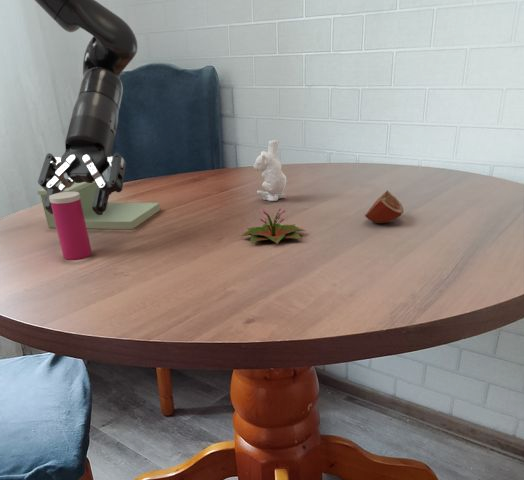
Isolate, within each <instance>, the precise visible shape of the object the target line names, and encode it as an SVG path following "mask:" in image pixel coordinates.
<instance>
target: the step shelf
mask: <svg viewBox="0 0 524 480" xmlns="http://www.w3.org/2000/svg"><path fill="white" fill-rule="evenodd" d="M103 176H104V178H105V179H106V177H105V174H103ZM68 178H69V177H67V178H66V179H68ZM60 183H61V181H60V182H59V183H58V184H57V185H56V186H58V185H59V184H60ZM96 189H99V186H98V185H97V183H96V181H93V183H87V182H82V183H76V182H75V183H74V184H73V185H72V186H71V187H70V188H66V189H65V190H64V191H63V192H79V193H80V199H81V204H82V209H83V214H84V218H85V223H86V228H87V229H92V230H93V229H95V230H96V229H97V230H98V229H99V230H100V229H101V230H134V229H135V228H137V226H139V225H141V224H142V223H144V222H145V221H147V220H148V219H150V218H151V217H152V216H154V215H155V214H157V213H158V212H160V211H161V206H160V205H161V204H160V202H108V203H107V207H106V210H105V211H104V212H103V214H102V215H97V214H96V213H95V212H94V211H93V209H92V206H93V202H94V197H95V193H96ZM36 192H37V195H38V196H40V199H41V203H42V207H43V211H44V216H45V219H46V223H47V227H48V229H49V228H50V229H57V228H56V223H55V219H54V215H53V214H50V213H49V212H48V211H47V210H46V208H45V207H44V202H45V197H46V193H47V191H46V190H45V189H44V188H43V187H41V188H40V189H38V190H37V191H36Z"/></svg>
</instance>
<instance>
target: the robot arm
mask: <svg viewBox="0 0 524 480" xmlns="http://www.w3.org/2000/svg"><path fill="white" fill-rule="evenodd" d="M34 1H35V2H36V3H37V5H39V7H40V8H41V9H43V11H44V12H45V13H46V14H47V15H48V16H50V18H51V19H52V20H53V21H55V23H56V24H57V25H59V27H60V28H62V29H63V30H64V31H66V32H67V33H74V32H76V31H78V30H79V29H81V30H84V31H85V32H87V33H88V34H90V35H91V36H92V38H91V39H90V41H89V42H88V44H87V45H86V48H85V51H84V55H83V62H82V80H81V83H80V87H79V91H78V95H77V99H76V102H75V104H74V106H73V109H72V113H71V117H70V120H69V125H68V128H67V129H68V130H67V133H66V137H65V143H64V144H65V145H64V146H65V151H64V153H63V154H62V156H60V157H59V156H54V155H53V153H47V154H46V155H45V158H44V161H43V164H42V168H41V170H40V173H39V176H38V181H37V183H38V184H39V185H40V187H41V188H44V189H45V190H46V191H47V193H46V197H45V202H44V207H45V208H46V210H47V211H48V212H49V213H50V214H53V211H52V207H51V202H50V200H49V196H50V195H52V194H56V193H61V192H63V191H64V190H65V189H66V188H70V187H71V186H72V185H73V184H74V183H75V182H76V183H82V182H87V183H93V181H96V183H97V185H98V186H99V189H96V193H95V197H94V202H93V206H92V209H93V211H94V212H95V213H96V214H97V215H102V214H103V212H104V211H105V210H106V207H107V203H109V198H110V195H112V193H114V192H116V193H121V192H122V191H123V186H124V181H125V180H124V179H125V172H126V167H127V163H126V161H125V159H124V158H123V156H122V155H121V154H120V153H119V152H114V153H113V154H112V152H113V147H114V142H115V138H116V134H117V131H118V124H119V115H120V114H119V113H120V109H121V104H122V100H123V94H124V86H123V82H122V80H121V79H120V78H121V76H122V73H123V72H124V70H125V69H126V68H127V67H128V65H129V64H130V63H131V62H132V60H134V58H135V57H136V55H137V54H138V50H139V44H138V39H137V36H136V34H135V33H134V31H133V30H132V28H131V27H130V25H129V24H128V23H127V22H126V21H125V20H124V19H122V18H121V17H120V16H119V15H117V14H116V13H114V12H113V11H112V10H109V9H108V8H107V7H105V6H104V5H103V4H102V3H100V2H98V1H97V0H34ZM109 167H110V172H109V178H108V181H107V180H106V177H105V178H104V176H105V175H104V172H106V171H107V170H108V168H109ZM65 174H66V175H67V178H68V179H67V178H65ZM103 175H104V176H103ZM60 181H61V183H60V184H59V185H58V186H56V185H57V184H58V183H59V182H60ZM44 207H43V208H44Z"/></svg>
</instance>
